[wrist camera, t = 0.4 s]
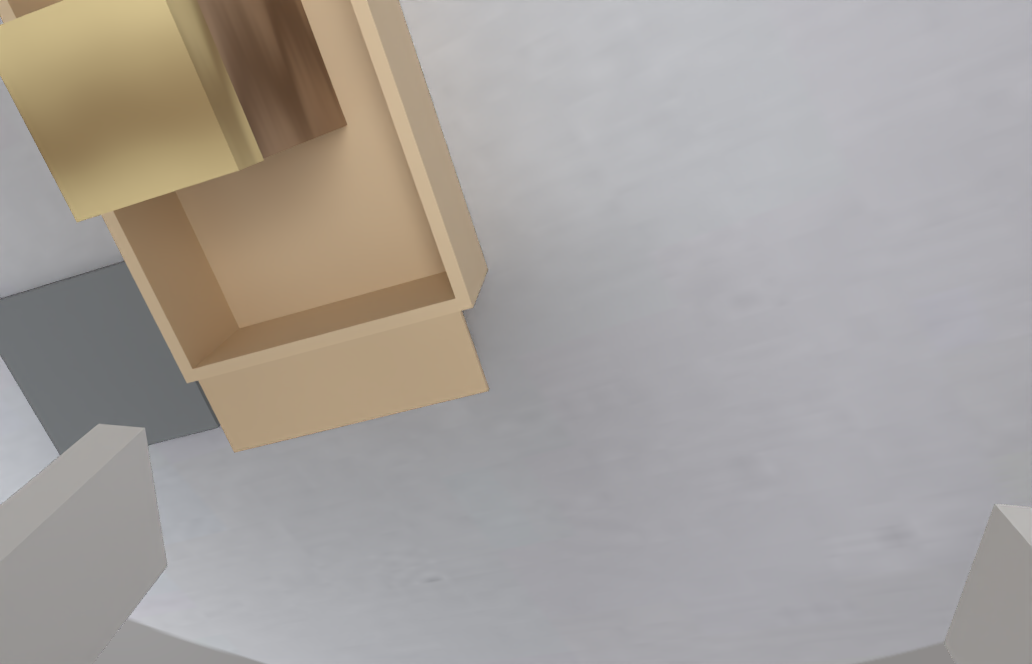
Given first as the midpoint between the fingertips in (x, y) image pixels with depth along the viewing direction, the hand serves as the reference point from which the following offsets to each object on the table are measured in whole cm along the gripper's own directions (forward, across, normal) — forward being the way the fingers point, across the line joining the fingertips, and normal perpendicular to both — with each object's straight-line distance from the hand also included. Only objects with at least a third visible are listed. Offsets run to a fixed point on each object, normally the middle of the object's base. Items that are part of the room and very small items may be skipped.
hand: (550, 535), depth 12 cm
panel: (+26, -25, -11) cm, 37 cm away
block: (+25, -14, +4) cm, 29 cm away
